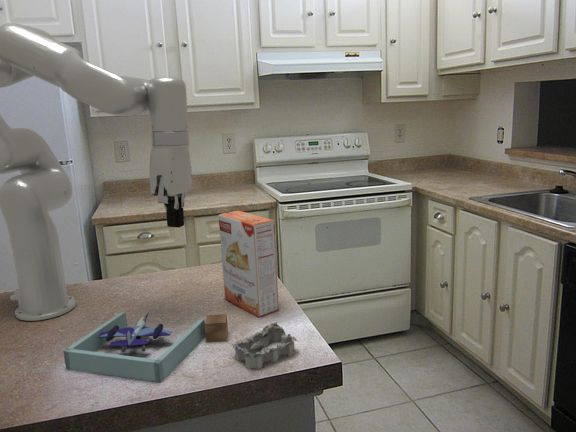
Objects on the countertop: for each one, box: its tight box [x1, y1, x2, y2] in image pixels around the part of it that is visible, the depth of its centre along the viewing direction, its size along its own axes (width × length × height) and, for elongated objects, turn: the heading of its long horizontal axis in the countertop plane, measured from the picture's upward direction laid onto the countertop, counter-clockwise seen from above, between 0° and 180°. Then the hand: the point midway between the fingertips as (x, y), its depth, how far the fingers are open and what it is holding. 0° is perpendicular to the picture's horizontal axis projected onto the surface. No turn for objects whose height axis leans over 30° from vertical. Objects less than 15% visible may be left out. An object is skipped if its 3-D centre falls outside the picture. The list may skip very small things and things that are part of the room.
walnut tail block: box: [204, 313, 229, 344], centre depth 95 cm, size 4×4×4 cm
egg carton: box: [231, 321, 298, 370], centre depth 88 cm, size 11×8×4 cm
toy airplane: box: [99, 311, 173, 353], centre depth 94 cm, size 13×14×4 cm
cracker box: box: [218, 210, 280, 318], centre depth 108 cm, size 14×6×21 cm, turn 39°
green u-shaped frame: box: [63, 310, 206, 383], centre depth 90 cm, size 19×17×4 cm
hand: (175, 226), depth 103 cm, fingers closed
